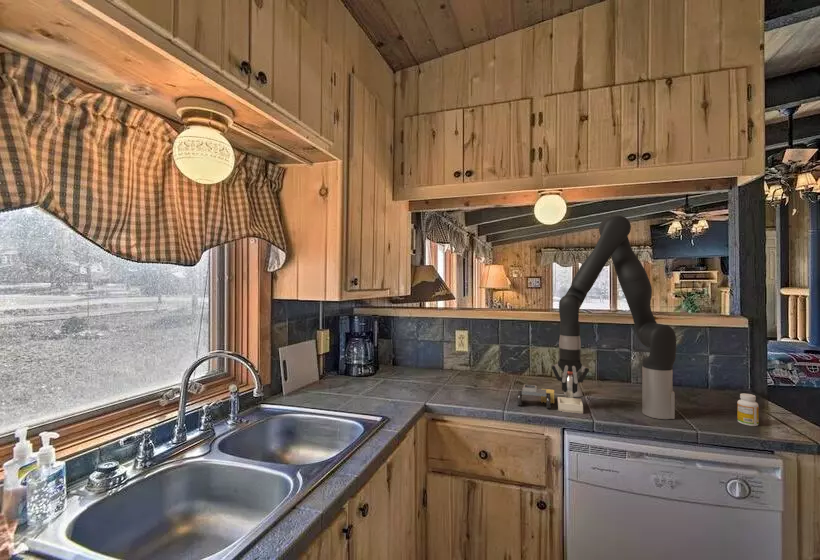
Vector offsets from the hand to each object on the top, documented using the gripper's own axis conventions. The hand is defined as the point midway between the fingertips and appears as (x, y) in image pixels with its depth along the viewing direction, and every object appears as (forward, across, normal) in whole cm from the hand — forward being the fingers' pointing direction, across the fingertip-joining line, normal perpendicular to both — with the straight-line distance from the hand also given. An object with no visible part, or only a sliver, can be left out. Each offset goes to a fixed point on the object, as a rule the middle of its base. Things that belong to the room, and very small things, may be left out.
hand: (569, 392), depth 144 cm
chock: (+7, -8, +7) cm, 12 cm away
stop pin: (+2, 0, 0) cm, 2 cm away
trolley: (+7, -13, 0) cm, 14 cm away
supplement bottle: (+6, +57, +4) cm, 57 cm away
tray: (+7, 0, 0) cm, 7 cm away
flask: (+7, +3, +19) cm, 21 cm away
